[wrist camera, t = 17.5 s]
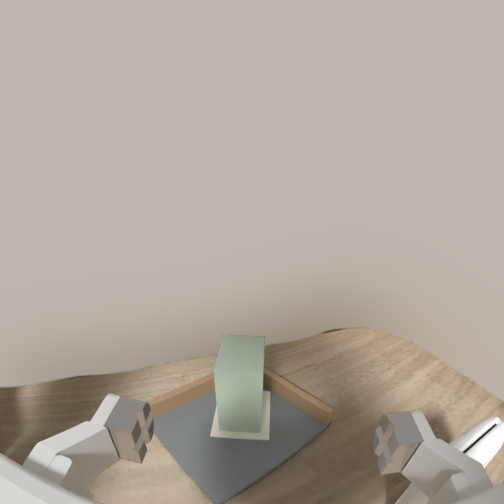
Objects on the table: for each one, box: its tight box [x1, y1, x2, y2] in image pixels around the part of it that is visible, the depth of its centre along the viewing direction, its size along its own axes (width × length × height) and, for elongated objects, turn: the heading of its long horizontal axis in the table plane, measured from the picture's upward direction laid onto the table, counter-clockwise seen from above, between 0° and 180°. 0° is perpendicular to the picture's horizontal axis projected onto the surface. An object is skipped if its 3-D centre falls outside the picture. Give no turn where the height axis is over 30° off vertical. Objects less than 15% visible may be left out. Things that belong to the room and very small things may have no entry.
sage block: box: [214, 335, 265, 433], centre depth 34 cm, size 5×7×10 cm
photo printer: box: [395, 416, 504, 504], centre depth 17 cm, size 10×4×12 cm, turn 107°
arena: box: [146, 367, 334, 504], centre depth 33 cm, size 18×16×3 cm
